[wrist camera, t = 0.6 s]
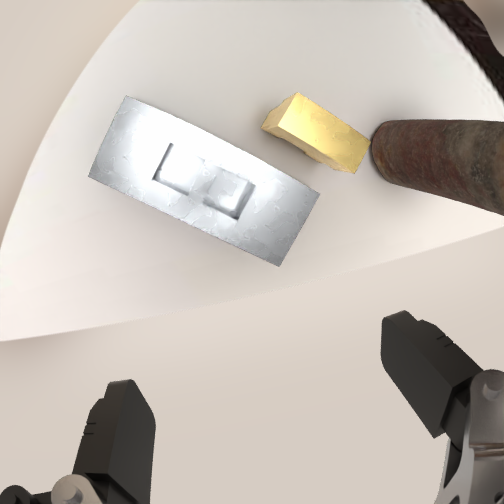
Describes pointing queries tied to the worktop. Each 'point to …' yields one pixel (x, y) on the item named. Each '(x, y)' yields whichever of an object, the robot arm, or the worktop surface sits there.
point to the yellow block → (317, 133)
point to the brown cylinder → (445, 159)
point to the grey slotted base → (202, 181)
